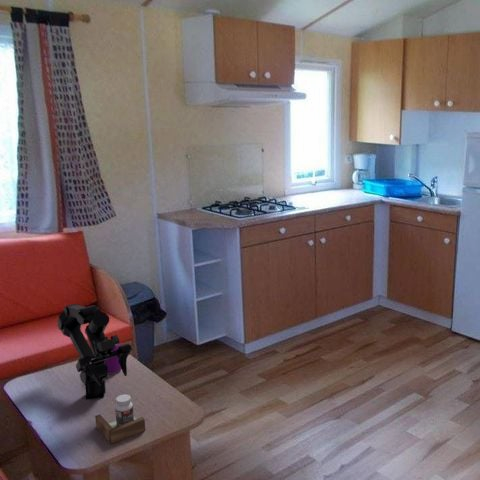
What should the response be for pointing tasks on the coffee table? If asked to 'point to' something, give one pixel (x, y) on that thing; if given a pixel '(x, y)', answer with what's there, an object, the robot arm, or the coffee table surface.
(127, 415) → the pill bottle
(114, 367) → the beverage can
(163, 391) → the coffee table surface
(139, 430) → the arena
